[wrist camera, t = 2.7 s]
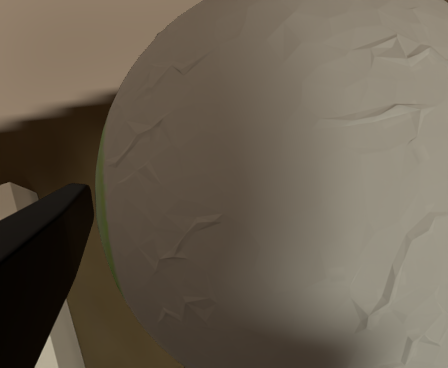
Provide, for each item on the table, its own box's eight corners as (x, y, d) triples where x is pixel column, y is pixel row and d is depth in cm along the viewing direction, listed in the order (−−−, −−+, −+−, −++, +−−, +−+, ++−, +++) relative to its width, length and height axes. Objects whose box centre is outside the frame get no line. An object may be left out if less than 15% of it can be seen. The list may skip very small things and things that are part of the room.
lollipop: (164, 171, 19) (-11, -173, 4) (302, 156, 19) (619, -204, 4) (177, 319, 17) (-18, 666, 2) (327, 299, 18) (927, 493, 3)
